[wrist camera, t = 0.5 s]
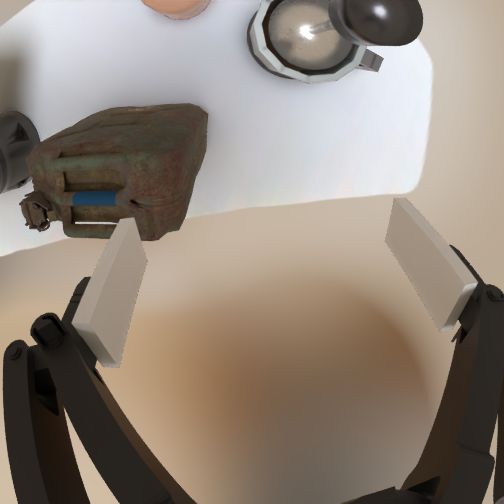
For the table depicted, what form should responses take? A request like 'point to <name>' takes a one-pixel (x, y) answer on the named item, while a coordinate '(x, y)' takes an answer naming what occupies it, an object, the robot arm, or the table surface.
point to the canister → (118, 171)
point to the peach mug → (177, 7)
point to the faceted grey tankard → (282, 68)
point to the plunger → (340, 28)
